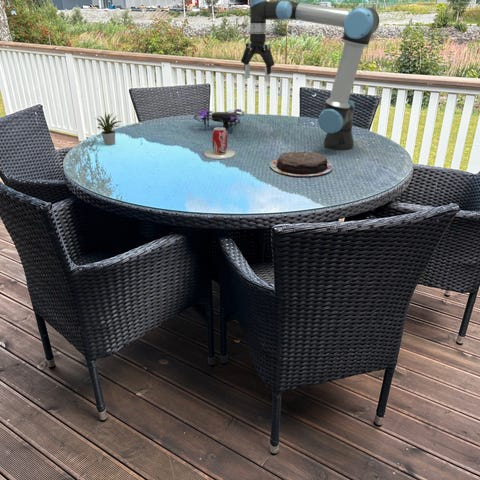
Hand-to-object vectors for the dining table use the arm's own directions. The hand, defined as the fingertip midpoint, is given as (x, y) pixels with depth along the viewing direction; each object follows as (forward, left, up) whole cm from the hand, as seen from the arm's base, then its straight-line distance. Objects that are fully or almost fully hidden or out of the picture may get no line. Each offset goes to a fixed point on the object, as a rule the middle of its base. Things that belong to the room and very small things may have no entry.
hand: (257, 79), depth 229 cm
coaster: (-3, +29, -32) cm, 43 cm away
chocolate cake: (-43, +16, -32) cm, 56 cm away
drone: (+35, -5, -32) cm, 48 cm away
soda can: (-3, +29, -31) cm, 43 cm away
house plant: (+51, +58, -32) cm, 84 cm away
